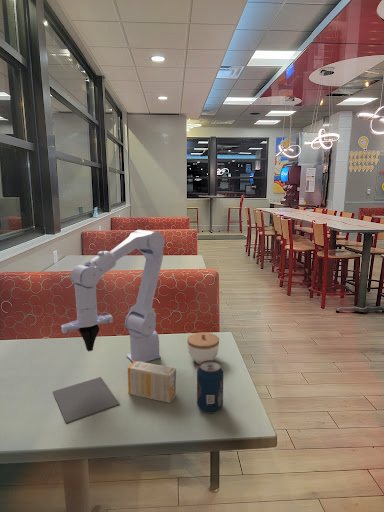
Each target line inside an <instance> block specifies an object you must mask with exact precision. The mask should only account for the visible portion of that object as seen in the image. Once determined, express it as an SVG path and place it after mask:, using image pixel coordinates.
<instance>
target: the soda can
mask: <svg viewBox="0 0 384 512" xmlns="http://www.w3.org/2000/svg"><path fill="white" fill-rule="evenodd" d="M198 365H199V366H198V368H197V371H196V404H197V407H198V408H199V409H200V411H202V412H204V413H207V414H215V413H217V412H218V411H220V410H221V408H222V407H223V405H224V370H223V368H222V365H221V363H220V362H218V361H217V360H214V359H213V360H207V361H203V362H201V363H200V364H198Z"/></svg>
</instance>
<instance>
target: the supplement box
mask: <svg viewBox="0 0 384 512" xmlns="http://www.w3.org/2000/svg"><path fill="white" fill-rule="evenodd" d="M127 379H128V380H127V383H128V386H127V387H128V388H127V389H128V394H129V395H133V396H136V397H137V396H138V397H140V398H145V399H146V398H147V399H151V400H154V401H158V402H162V403H163V402H165V403H166V404H167V403H168V404H171V402H172V401H173V400H174V399H175V396H177V367H176V368H175V367H170V366H166V365H160V364H155V363H149V362H139V361H135V362H134V363H133V362H132V363H131V364H130V365H129V366H127Z"/></svg>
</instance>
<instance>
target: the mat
mask: <svg viewBox="0 0 384 512" xmlns="http://www.w3.org/2000/svg"><path fill="white" fill-rule="evenodd" d="M52 393H53V396H54V397H55V401H56V402H57V406H58V407H59V410H60V412H61V415H62V416H63V419H64V422H65V424H69V423H72V422H74V421H78V420H80V419H83V418H86V417H90V416H92V415H95V414H98V413H100V412H103V411H106V410H109V409H111V408H114V407H117V406H121V403H120V402H119V401H118V399H117V397H116V396H115V395H114V394H113V392H112V390H111V389H110V388H109V386H108V385H107V384H106V383H105V381H104V379H103V377H101V376H100V377H96V378H93V379H89V380H86V381H83V382H80V383H76V384H73V385H69V386H65V387H62V388H59V389H56V390H53V391H52Z"/></svg>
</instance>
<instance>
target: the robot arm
mask: <svg viewBox="0 0 384 512" xmlns="http://www.w3.org/2000/svg"><path fill="white" fill-rule="evenodd" d="M165 242H166V240H165V237H164V236H163V234H162V233H161V232H159V231H158V230H157V231H156V230H155V231H153V230H144V229H137V230H134V231H133V232H131V233H130V234H129V236H128V237H126V238H125V239H124V240H123V241H122V242H121V243H119V244H118V245H117V246H114V248H113V249H111V250H110V251H108V250H100V251H98V252H97V255H95V256H94V257H93V258H91V259H90V260H86V261H85V263H84V264H78V265H76V266H75V267H73V269H72V270H71V273H70V274H71V275H69V279H70V281H71V283H72V284H73V287H74V291H75V292H74V295H75V305H76V317H77V318H76V320H73V321H70V322H67V323H64V324H61V333H62V334H67V333H68V332H69V333H70V332H72V331H78V332H79V334H80V335H81V337H82V340H83V342H84V344H85V348H86V351H87V352H92V351H94V345H95V341H96V338H97V336H98V334H99V332H100V327H99V325H103V324H108V323H109V324H111V323H112V324H113V323H114V322H113V321H114V317H113V316H112V315H111V314H105V315H98V302H97V287H96V286H97V285H98V284H99V281H100V279H101V278H102V277H103V275H105V274H107V273H108V272H109V271H111V270H113V269H114V268H115V267H116V265H117V261H119V260H120V259H122V258H123V257H126V255H128V254H130V253H131V252H133V251H135V250H137V251H139V252H141V254H142V255H143V257H144V259H145V263H144V267H143V270H142V274H141V280H140V284H139V290H138V293H137V298H136V302H135V304H133V305H132V306H131V307H130V308H129V312H128V314H127V315H126V317H125V320H124V326H125V328H127V329H128V333H129V341H130V342H129V344H130V353H127V354H126V357H127V358H128V359H129V360H130V361H131V362H132V364H133V363H134V362H135V361H139V362H145V363H148V362H151V361H153V360H157V359H160V358H161V354H160V339H159V334H158V331H156V327H157V326H156V325H157V322H156V317H157V314H156V312H155V310H154V308H153V302H154V299H155V294H156V289H157V285H158V281H159V277H160V273H161V268H162V263H163V260H164V259H163V257H164V247H165Z"/></svg>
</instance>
